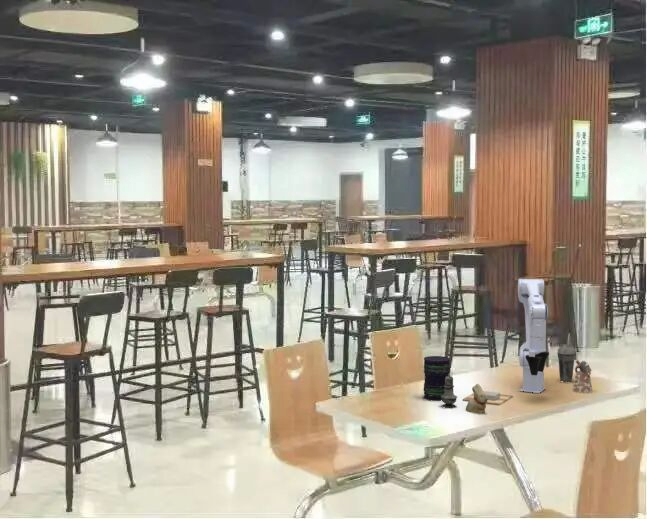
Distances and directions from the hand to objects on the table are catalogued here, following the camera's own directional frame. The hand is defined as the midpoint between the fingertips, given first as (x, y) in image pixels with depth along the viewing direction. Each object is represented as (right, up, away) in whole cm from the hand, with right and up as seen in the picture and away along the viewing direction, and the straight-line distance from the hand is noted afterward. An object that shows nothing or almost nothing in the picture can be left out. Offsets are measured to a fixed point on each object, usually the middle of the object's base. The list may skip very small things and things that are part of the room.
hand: (537, 373), depth 304 cm
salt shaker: (-34, -11, -9) cm, 37 cm away
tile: (-17, -8, +4) cm, 19 cm away
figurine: (+21, -9, +15) cm, 27 cm away
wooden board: (-18, -10, +2) cm, 20 cm away
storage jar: (-37, -10, +4) cm, 38 cm away
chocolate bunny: (-26, -11, -17) cm, 33 cm away
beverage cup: (+20, -8, +32) cm, 38 cm away
